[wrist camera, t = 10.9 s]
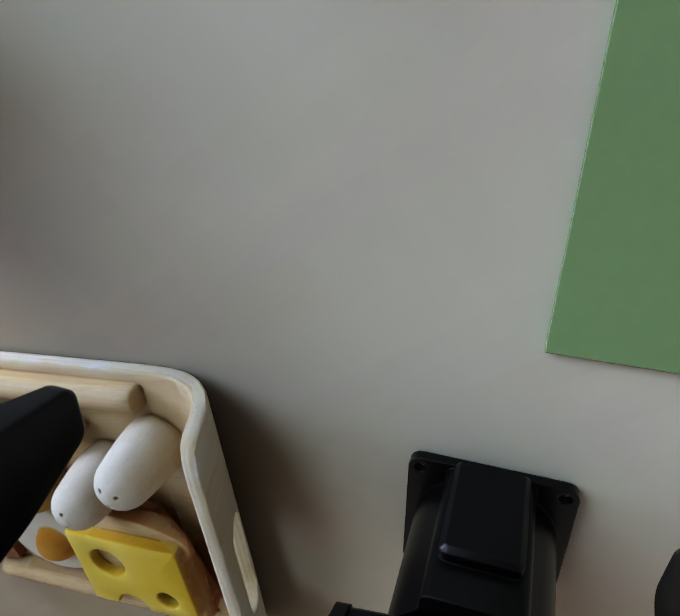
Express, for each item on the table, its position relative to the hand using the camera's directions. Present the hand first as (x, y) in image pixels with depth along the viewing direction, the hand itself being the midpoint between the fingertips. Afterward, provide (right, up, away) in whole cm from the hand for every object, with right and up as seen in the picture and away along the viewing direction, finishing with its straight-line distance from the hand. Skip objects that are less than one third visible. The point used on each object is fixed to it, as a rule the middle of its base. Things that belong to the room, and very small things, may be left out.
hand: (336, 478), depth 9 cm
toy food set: (-15, -7, +25) cm, 30 cm away
